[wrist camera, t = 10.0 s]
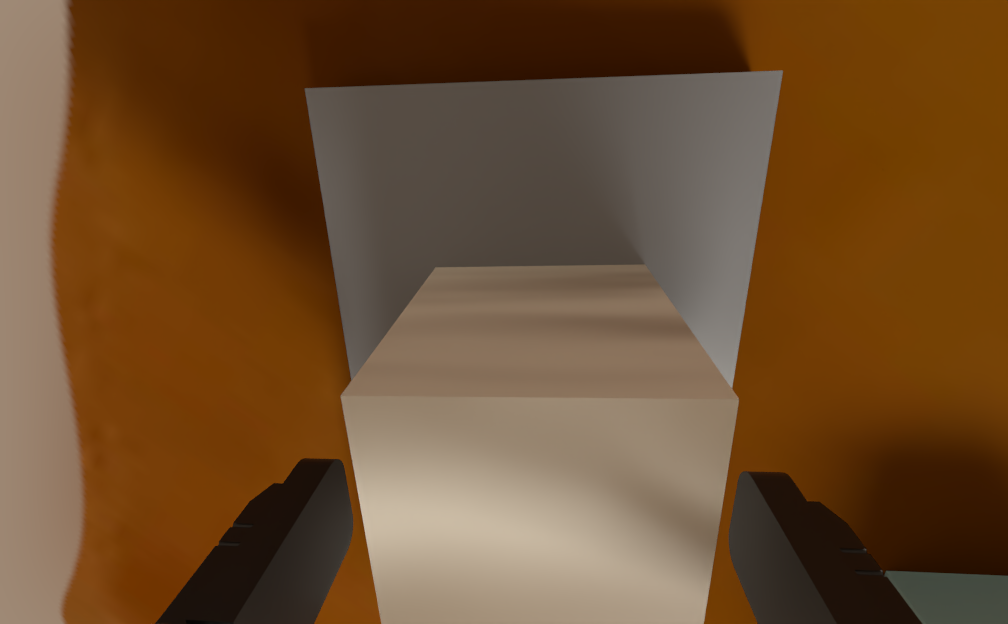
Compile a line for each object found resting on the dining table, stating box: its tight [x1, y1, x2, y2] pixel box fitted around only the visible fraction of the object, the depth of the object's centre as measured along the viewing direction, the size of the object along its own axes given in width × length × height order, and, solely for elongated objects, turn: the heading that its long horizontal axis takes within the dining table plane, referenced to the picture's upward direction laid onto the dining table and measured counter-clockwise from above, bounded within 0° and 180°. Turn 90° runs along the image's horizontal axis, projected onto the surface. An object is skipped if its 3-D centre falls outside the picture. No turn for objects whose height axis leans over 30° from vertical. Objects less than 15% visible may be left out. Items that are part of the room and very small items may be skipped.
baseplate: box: [305, 71, 783, 388], centre depth 14 cm, size 16×10×2 cm, turn 2°
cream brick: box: [341, 264, 739, 624], centre depth 10 cm, size 8×5×6 cm, turn 2°
